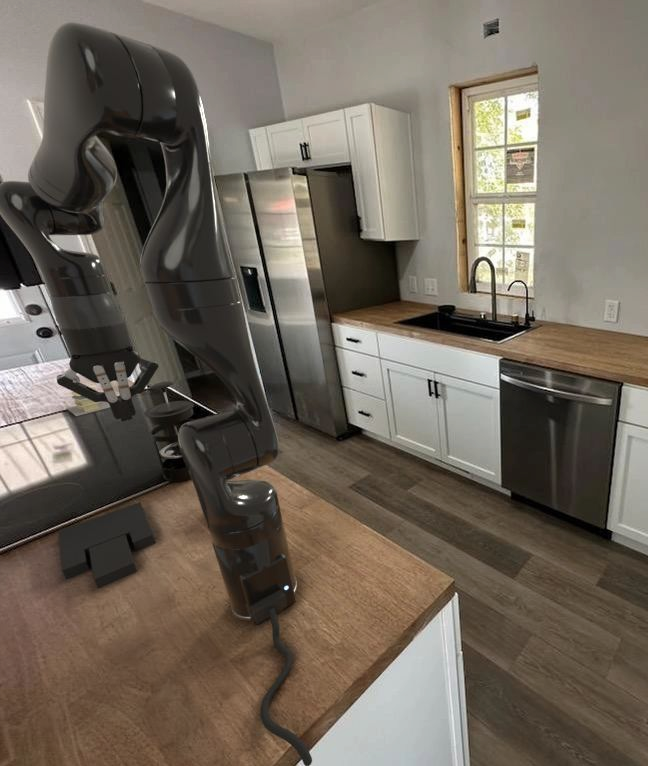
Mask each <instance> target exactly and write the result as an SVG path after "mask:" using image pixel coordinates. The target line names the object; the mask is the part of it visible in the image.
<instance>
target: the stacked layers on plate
mask: <svg viewBox="0 0 648 766" xmlns="http://www.w3.org/2000/svg"><path fill="white" fill-rule="evenodd" d="M89 387H90V388H92V389H94V390H96V389H97V388H96V387H95V386H92V387H91V386H89ZM70 395H72V396H71V399H72V400H74V402H73V404H74V406H73V405H72V406H69V407H66V410H67V411H69V412H70V413H72V414H73V415H74V416H75V417H79V416H84V415H87V414H90V413H95V412H98V411H101V410H106V409H111V407H110V405H109V403H108V402H102V401H100V402H94V401H92V400H89V399H87V398H85V397H83V396H81V395H79V394H77V393H75V392H73V391H71V392H70Z"/></svg>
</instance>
